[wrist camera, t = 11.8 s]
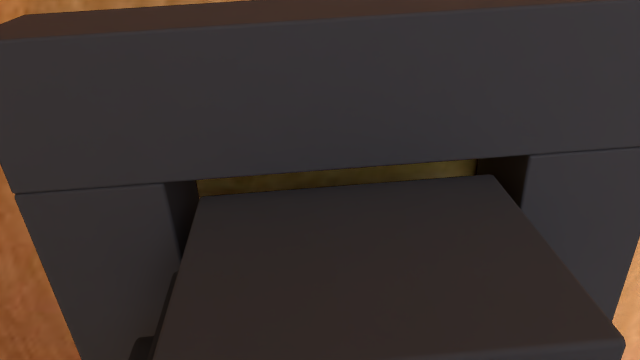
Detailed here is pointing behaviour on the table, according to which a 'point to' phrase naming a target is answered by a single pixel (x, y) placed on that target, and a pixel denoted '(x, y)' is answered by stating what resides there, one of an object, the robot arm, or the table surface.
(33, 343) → the table surface
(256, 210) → the black square block
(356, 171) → the table surface
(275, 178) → the table surface
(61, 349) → the table surface
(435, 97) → the frame pad
